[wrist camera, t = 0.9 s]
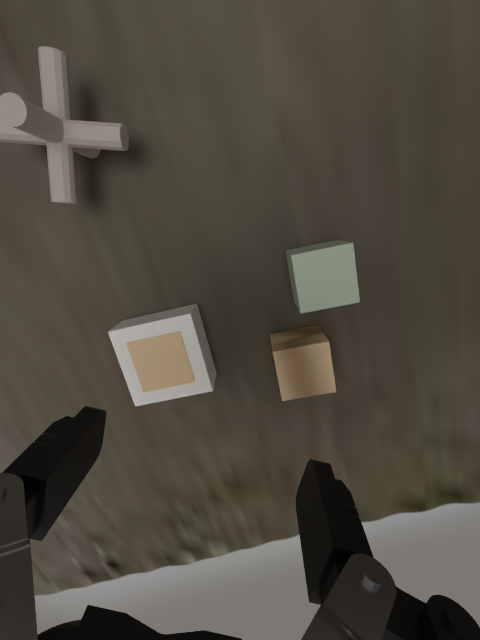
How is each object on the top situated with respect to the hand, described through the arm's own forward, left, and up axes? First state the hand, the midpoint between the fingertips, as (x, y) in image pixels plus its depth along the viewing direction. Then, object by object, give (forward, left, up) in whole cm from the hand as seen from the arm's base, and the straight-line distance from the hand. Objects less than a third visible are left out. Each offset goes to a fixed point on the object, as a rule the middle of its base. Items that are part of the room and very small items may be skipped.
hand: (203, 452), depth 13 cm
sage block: (-9, -2, -22) cm, 23 cm away
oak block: (-6, +6, -22) cm, 23 cm away
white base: (+7, +3, -22) cm, 23 cm away
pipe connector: (+9, -17, -22) cm, 29 cm away
